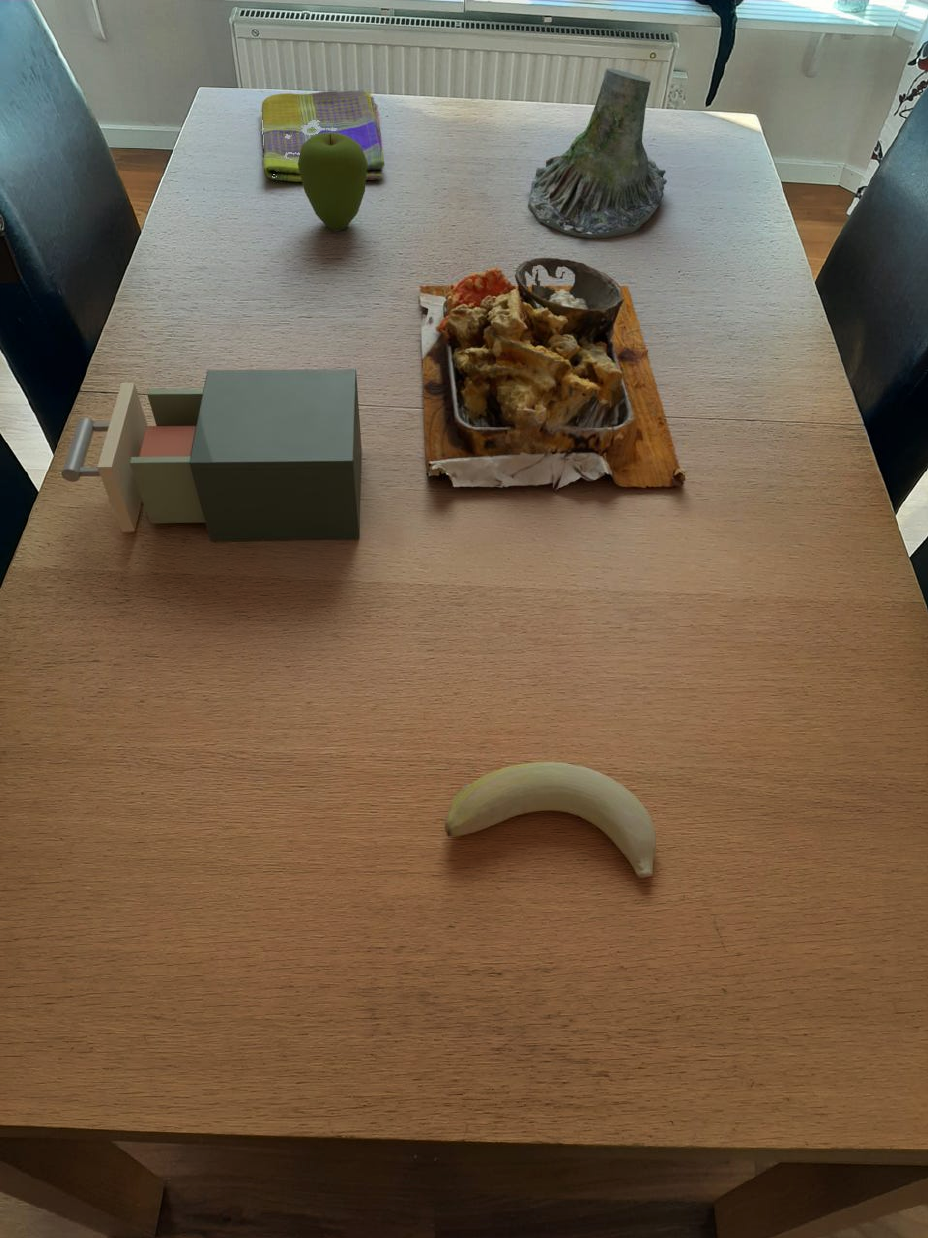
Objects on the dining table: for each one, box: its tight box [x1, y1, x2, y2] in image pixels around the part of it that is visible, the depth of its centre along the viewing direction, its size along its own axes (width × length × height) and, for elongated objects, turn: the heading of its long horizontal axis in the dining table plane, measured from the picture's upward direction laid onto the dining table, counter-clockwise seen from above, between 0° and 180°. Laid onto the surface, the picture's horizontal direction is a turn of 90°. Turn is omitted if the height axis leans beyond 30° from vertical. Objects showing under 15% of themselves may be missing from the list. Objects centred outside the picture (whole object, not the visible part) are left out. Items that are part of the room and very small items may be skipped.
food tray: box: [419, 257, 688, 493], centre depth 95 cm, size 35×26×11 cm
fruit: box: [444, 761, 657, 879], centre depth 65 cm, size 7×15×3 cm, turn 79°
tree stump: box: [527, 68, 668, 239], centre depth 120 cm, size 18×20×18 cm
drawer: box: [61, 382, 205, 533], centre depth 82 cm, size 17×11×8 cm
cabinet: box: [189, 368, 363, 543], centre depth 83 cm, size 14×13×10 cm
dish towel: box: [260, 89, 385, 183], centre depth 131 cm, size 18×24×3 cm
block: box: [139, 425, 196, 457], centre depth 83 cm, size 4×4×4 cm
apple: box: [298, 132, 368, 232], centre depth 113 cm, size 9×8×12 cm
